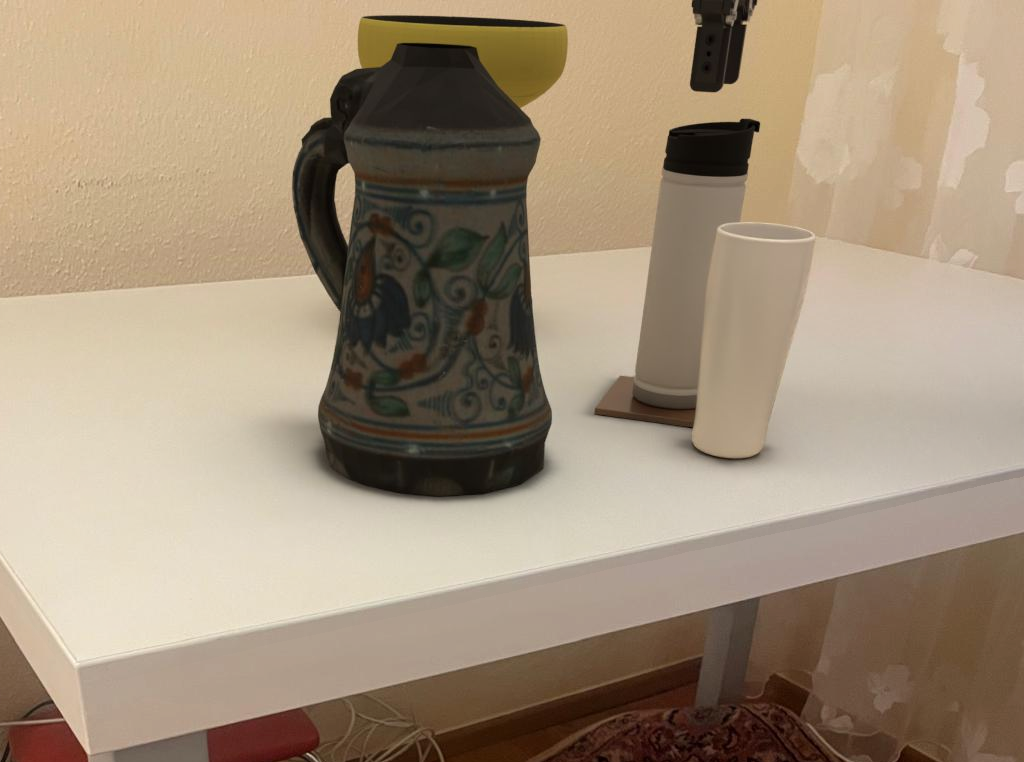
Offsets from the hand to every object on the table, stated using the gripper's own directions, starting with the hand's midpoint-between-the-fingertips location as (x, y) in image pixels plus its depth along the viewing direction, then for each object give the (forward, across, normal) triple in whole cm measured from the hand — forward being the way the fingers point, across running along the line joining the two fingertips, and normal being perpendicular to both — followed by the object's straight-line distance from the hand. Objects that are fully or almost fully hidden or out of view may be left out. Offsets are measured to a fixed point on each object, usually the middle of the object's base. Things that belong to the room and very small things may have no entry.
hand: (714, 87), depth 85 cm
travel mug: (+22, 0, 0) cm, 22 cm away
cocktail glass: (+22, +16, +24) cm, 37 cm away
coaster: (+22, 0, 0) cm, 23 cm away
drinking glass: (+23, -9, -6) cm, 25 cm away
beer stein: (+22, -20, +15) cm, 34 cm away
